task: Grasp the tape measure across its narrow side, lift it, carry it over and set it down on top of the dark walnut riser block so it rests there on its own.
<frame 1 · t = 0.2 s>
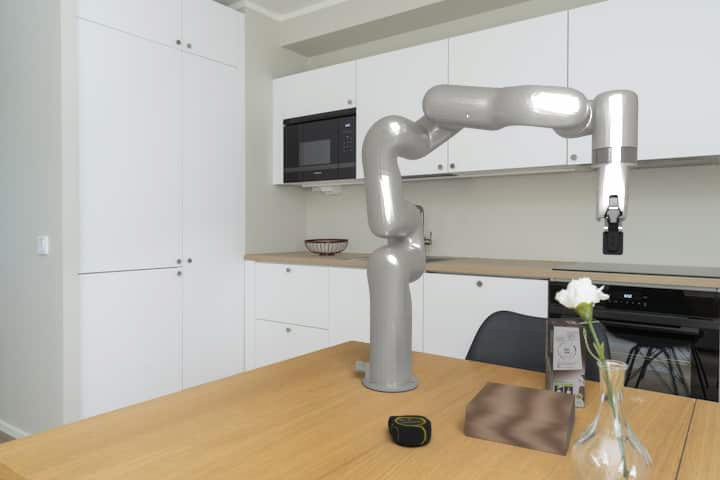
hand: (612, 253, 93), 31 cm above the table, fingers open, 9 cm apart
tape measure: (408, 441, 85), on the table
walnut riser: (522, 428, 89), on the table
coffee box: (564, 400, 105), on the table
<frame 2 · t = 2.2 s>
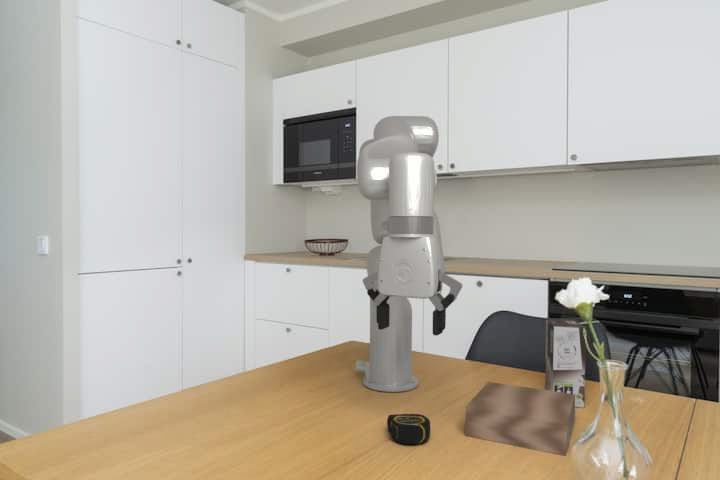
hand: (410, 330, 84), 18 cm above the table, fingers open, 9 cm apart
nothing on the table moved.
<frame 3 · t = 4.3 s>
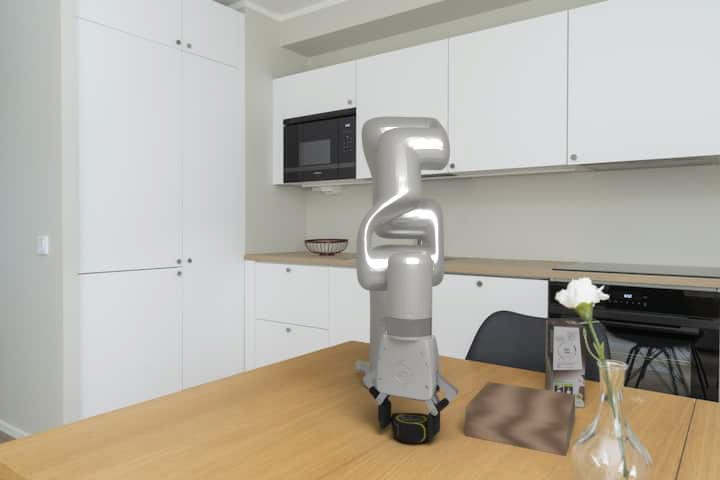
hand: (408, 430, 84), 1 cm above the table, fingers closed on tape measure, 7 cm apart
tape measure: (409, 438, 85), on the table, touching gripper
everything else where it was.
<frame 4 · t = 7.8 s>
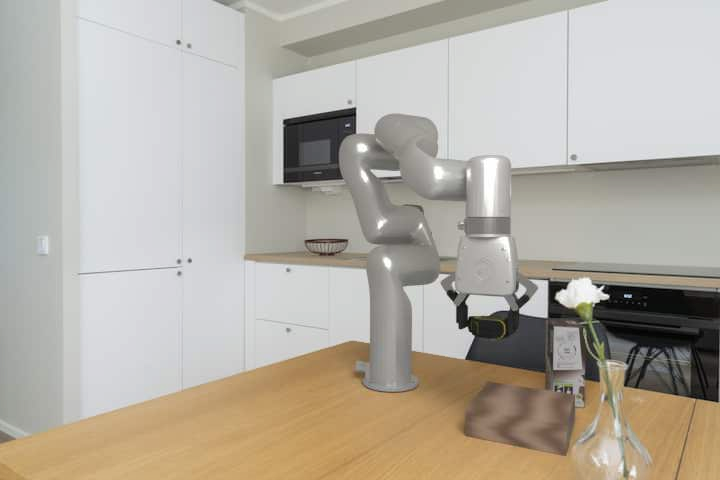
hand: (486, 330, 87), 18 cm above the table, fingers closed on tape measure, 7 cm apart
tape measure: (487, 338, 88), point 16 cm above the table, touching gripper
everything else where it was.
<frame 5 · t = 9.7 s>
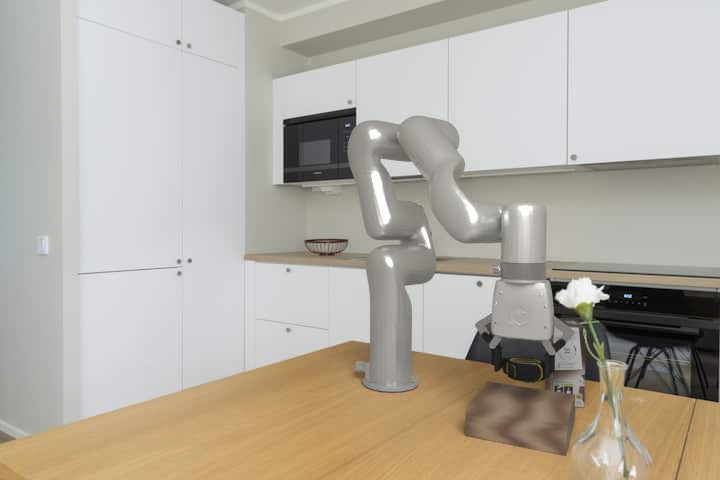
hand: (522, 372, 88), 10 cm above the table, fingers closed on tape measure, 7 cm apart
tape measure: (522, 380, 89), point 9 cm above the table, touching gripper
everything else where it was.
when the fingers open (8 cm above the table, at t = 11.2 s): tape measure drops 1 cm, resting on walnut riser.
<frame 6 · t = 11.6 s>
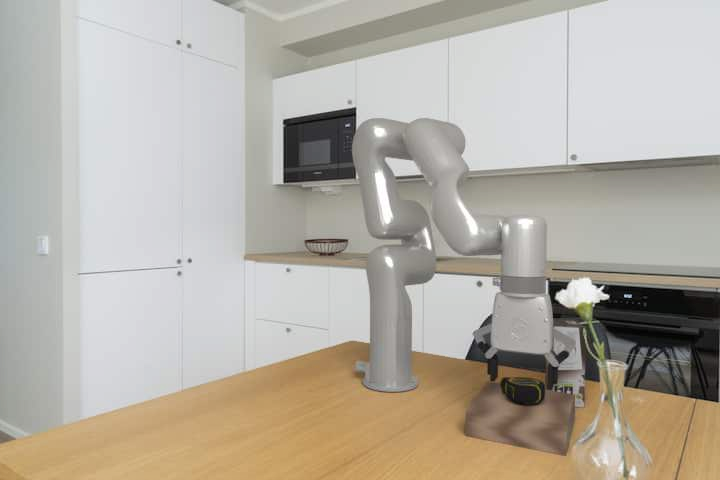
hand: (521, 383, 88), 8 cm above the table, fingers open, 9 cm apart
tape measure: (521, 401, 90), point 5 cm above the table, touching walnut riser
everything else where it was.
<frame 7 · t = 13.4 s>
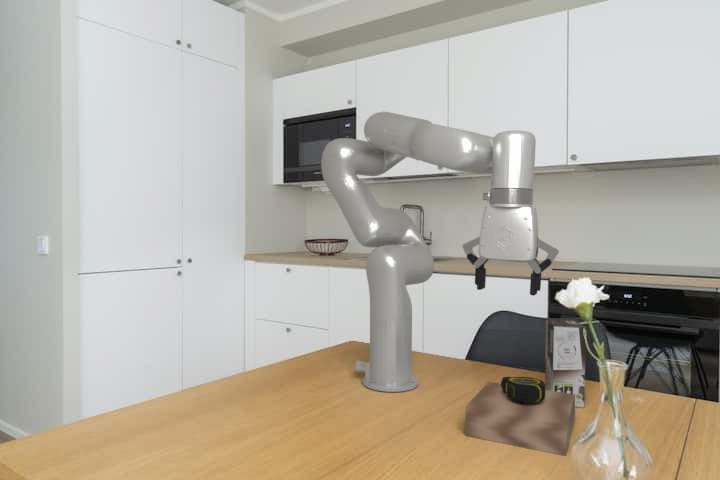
hand: (506, 291, 94), 24 cm above the table, fingers open, 9 cm apart
nothing on the table moved.
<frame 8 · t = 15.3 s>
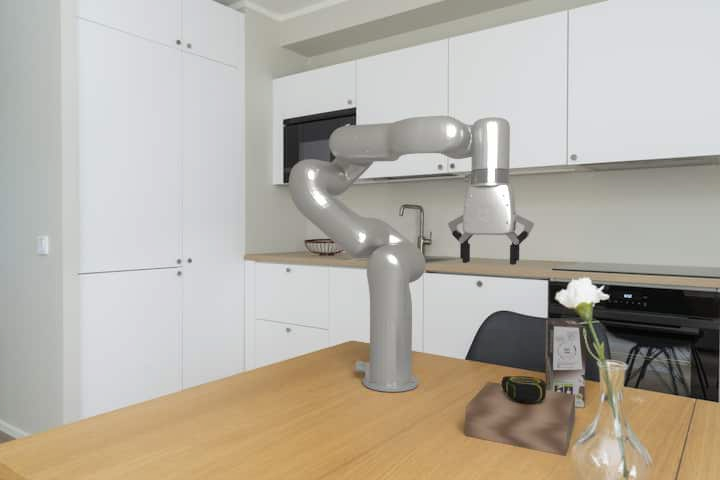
hand: (489, 263, 104), 28 cm above the table, fingers open, 9 cm apart
nothing on the table moved.
at the end: tape measure inside the target area on the walnut riser (0.9 cm from its centre), point 4.8 cm above the walnut riser's base; the gripper is holding nothing; tape measure tilted 0° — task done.
